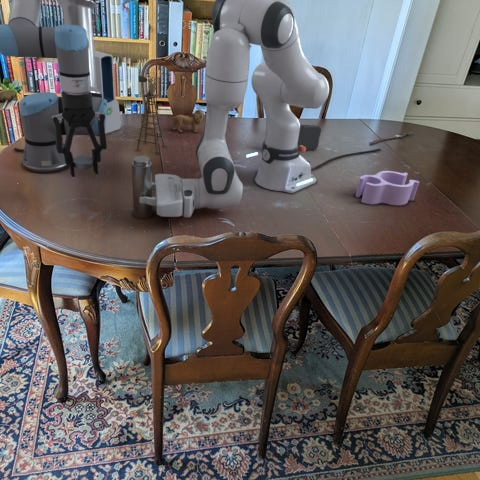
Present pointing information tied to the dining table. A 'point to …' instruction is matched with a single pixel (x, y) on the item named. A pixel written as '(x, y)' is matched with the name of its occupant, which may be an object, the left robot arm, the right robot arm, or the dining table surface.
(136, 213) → the jar
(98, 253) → the dining table surface
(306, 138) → the handheld gaming console
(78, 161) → the lid
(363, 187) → the clip
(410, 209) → the dining table surface
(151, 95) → the miniature windmill
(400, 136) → the sword
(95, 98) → the left robot arm
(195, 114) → the lion figurine
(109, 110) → the electronic device
